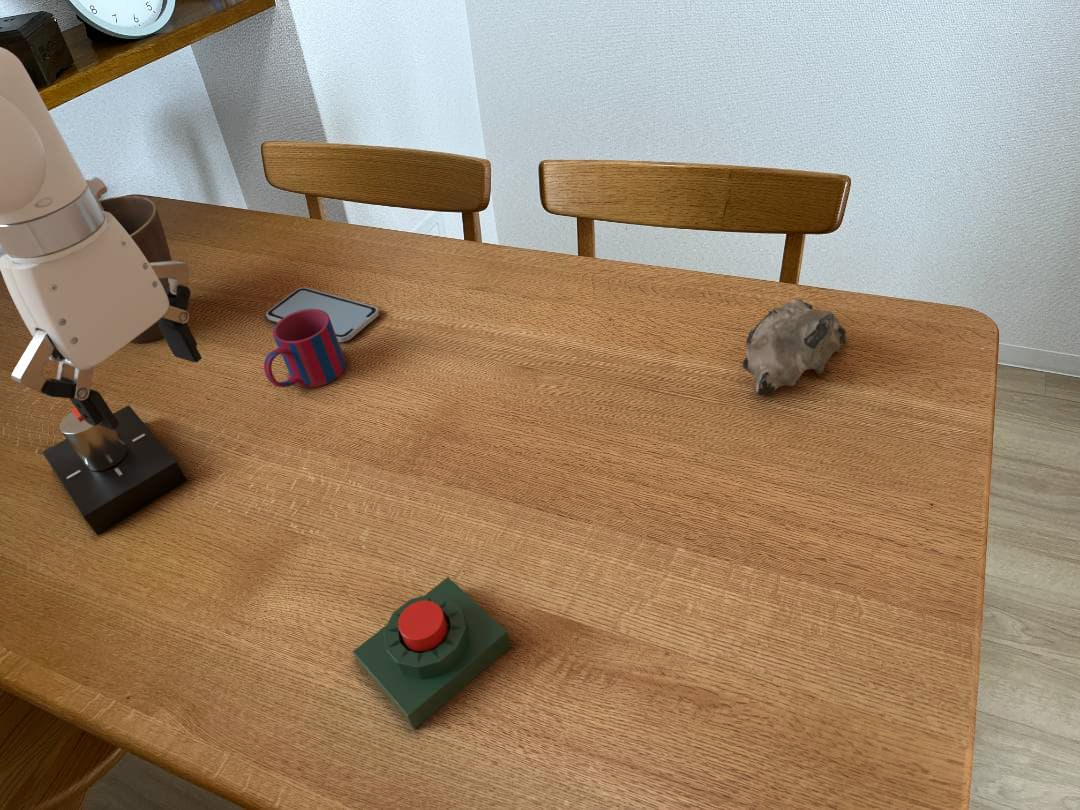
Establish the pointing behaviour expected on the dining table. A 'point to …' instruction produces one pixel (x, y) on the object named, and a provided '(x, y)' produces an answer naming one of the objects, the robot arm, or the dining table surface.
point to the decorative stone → (791, 345)
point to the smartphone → (327, 311)
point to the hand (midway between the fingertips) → (149, 389)
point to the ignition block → (433, 655)
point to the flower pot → (142, 239)
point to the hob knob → (93, 442)
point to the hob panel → (117, 475)
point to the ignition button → (422, 626)
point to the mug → (306, 349)
